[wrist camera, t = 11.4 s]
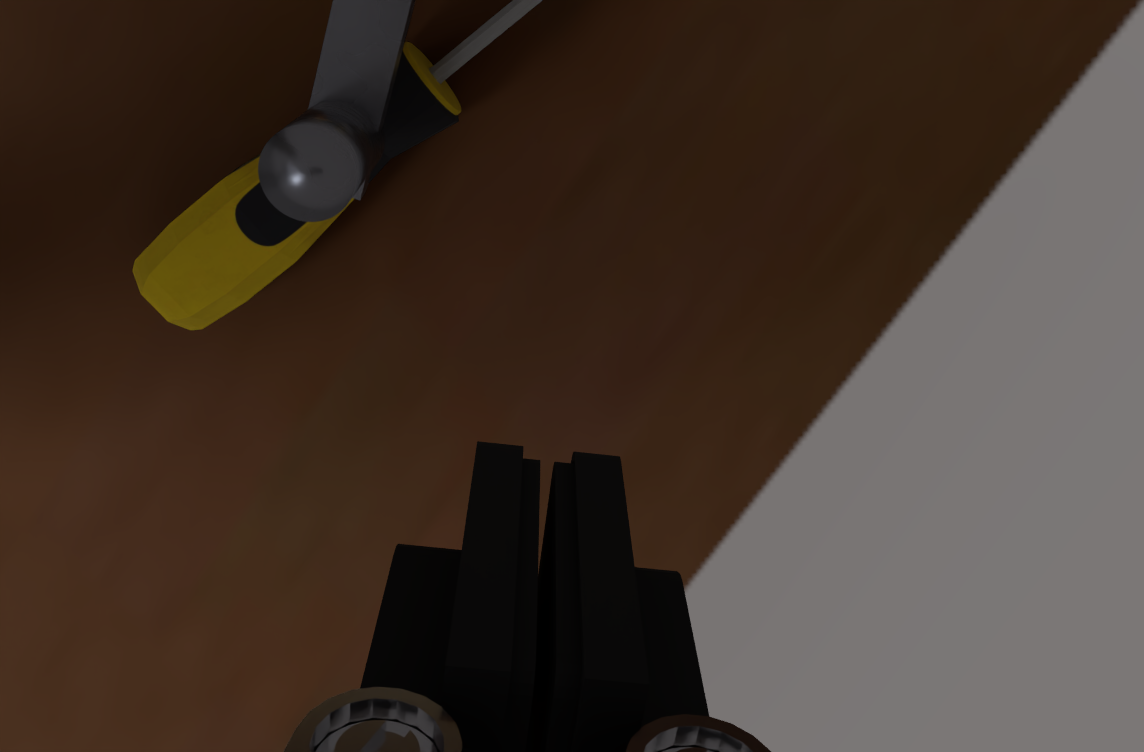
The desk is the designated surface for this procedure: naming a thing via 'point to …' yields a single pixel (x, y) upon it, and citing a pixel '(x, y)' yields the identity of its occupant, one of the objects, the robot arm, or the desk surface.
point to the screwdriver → (267, 236)
